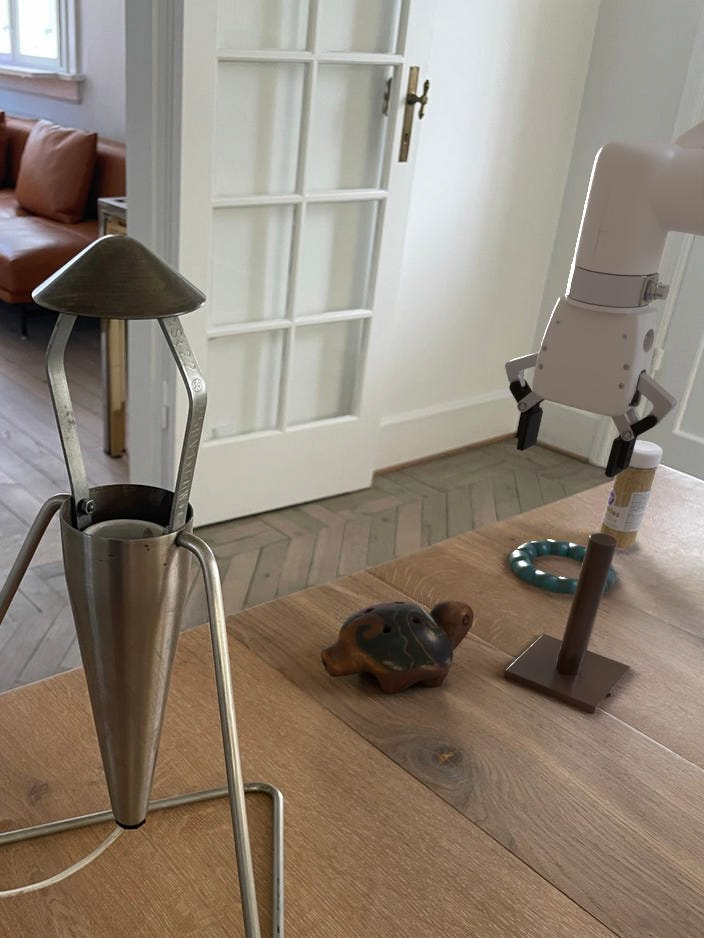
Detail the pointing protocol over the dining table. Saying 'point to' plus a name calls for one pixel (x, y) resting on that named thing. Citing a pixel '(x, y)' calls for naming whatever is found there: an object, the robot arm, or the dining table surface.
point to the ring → (534, 576)
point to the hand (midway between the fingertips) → (568, 460)
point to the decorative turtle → (400, 643)
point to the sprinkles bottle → (631, 494)
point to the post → (575, 642)
